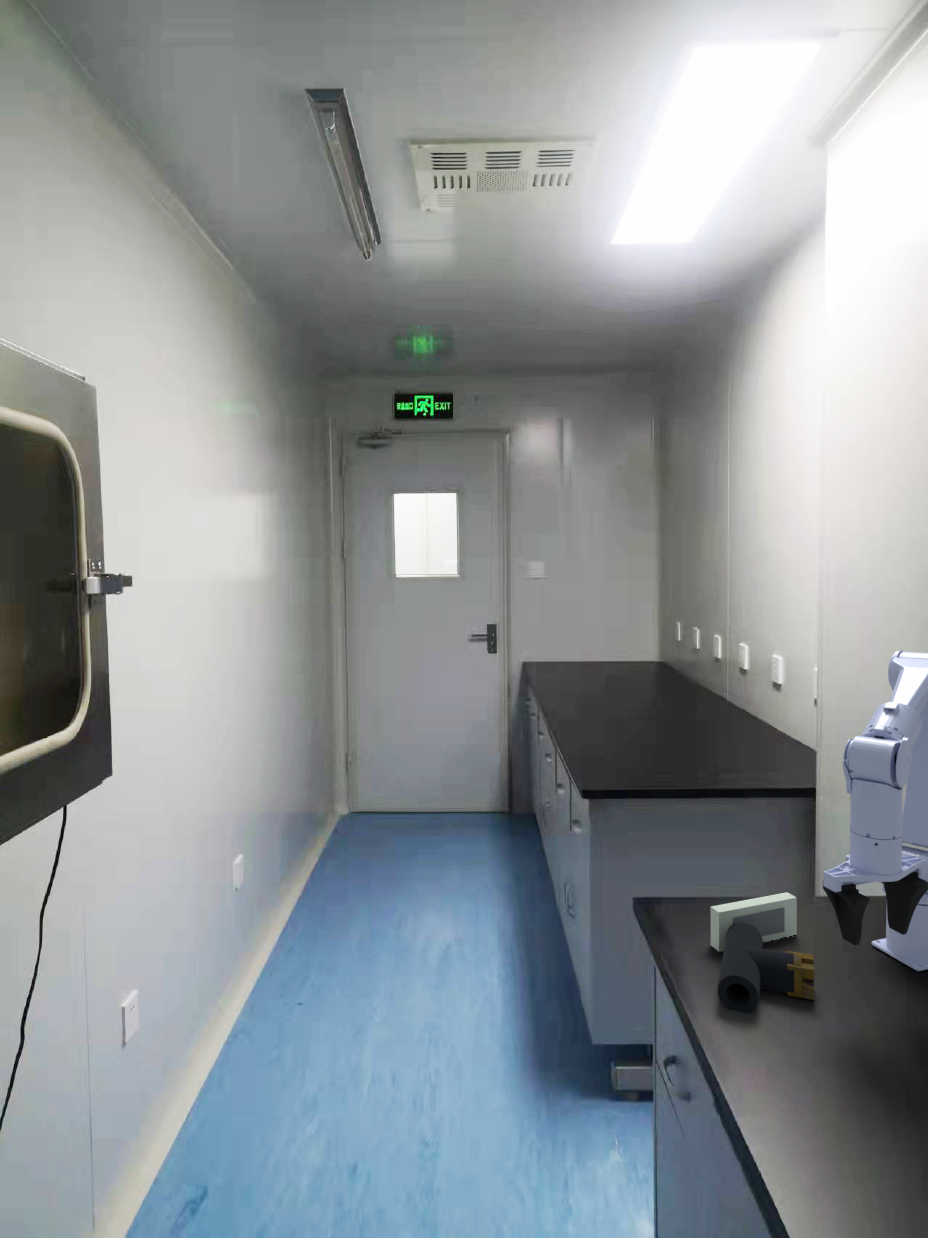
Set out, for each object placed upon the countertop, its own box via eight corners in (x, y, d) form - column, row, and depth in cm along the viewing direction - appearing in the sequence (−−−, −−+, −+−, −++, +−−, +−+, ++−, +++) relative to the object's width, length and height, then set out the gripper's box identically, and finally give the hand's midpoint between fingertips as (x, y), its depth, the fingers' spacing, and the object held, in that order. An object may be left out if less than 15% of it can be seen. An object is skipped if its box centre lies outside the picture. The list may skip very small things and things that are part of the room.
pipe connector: (811, 931, 103) (815, 987, 89) (812, 967, 103) (816, 1029, 89) (726, 919, 107) (716, 971, 94) (726, 953, 108) (718, 1010, 94)
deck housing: (787, 929, 113) (787, 892, 113) (798, 936, 111) (798, 898, 111) (710, 945, 109) (710, 906, 109) (720, 952, 107) (720, 913, 107)
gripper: (893, 814, 98) (891, 912, 98) (805, 828, 93) (804, 931, 94) (941, 832, 91) (939, 937, 92) (849, 848, 87) (848, 958, 87)
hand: (874, 936), depth 93 cm, fingers open, 7 cm apart
